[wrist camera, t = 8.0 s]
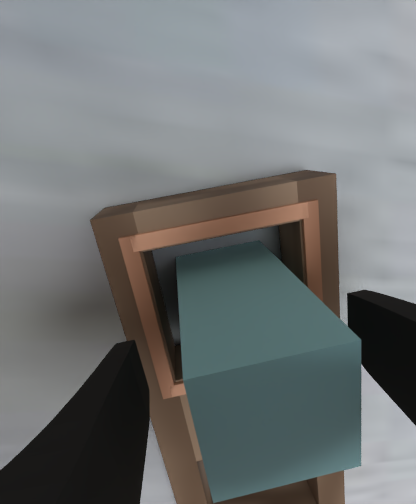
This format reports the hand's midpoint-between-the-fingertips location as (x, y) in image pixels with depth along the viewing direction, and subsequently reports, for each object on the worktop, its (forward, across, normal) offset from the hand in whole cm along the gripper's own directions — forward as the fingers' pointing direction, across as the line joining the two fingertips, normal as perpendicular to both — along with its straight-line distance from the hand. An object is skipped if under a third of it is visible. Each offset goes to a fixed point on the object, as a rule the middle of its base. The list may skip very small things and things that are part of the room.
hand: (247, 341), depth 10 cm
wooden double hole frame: (+5, 0, +6) cm, 7 cm away
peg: (+5, 0, 0) cm, 5 cm away
